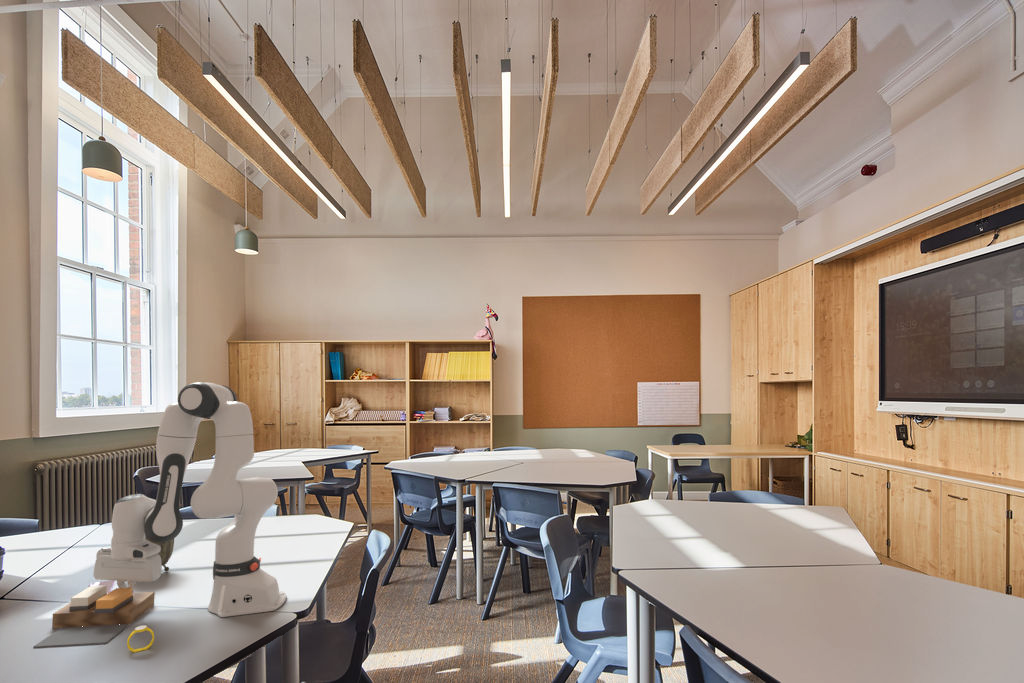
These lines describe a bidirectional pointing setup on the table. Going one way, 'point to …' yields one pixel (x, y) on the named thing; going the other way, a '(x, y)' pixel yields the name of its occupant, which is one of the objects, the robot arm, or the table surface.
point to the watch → (137, 629)
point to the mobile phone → (108, 583)
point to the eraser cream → (87, 598)
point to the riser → (89, 617)
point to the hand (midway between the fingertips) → (126, 594)
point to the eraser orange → (113, 600)
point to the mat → (82, 635)
